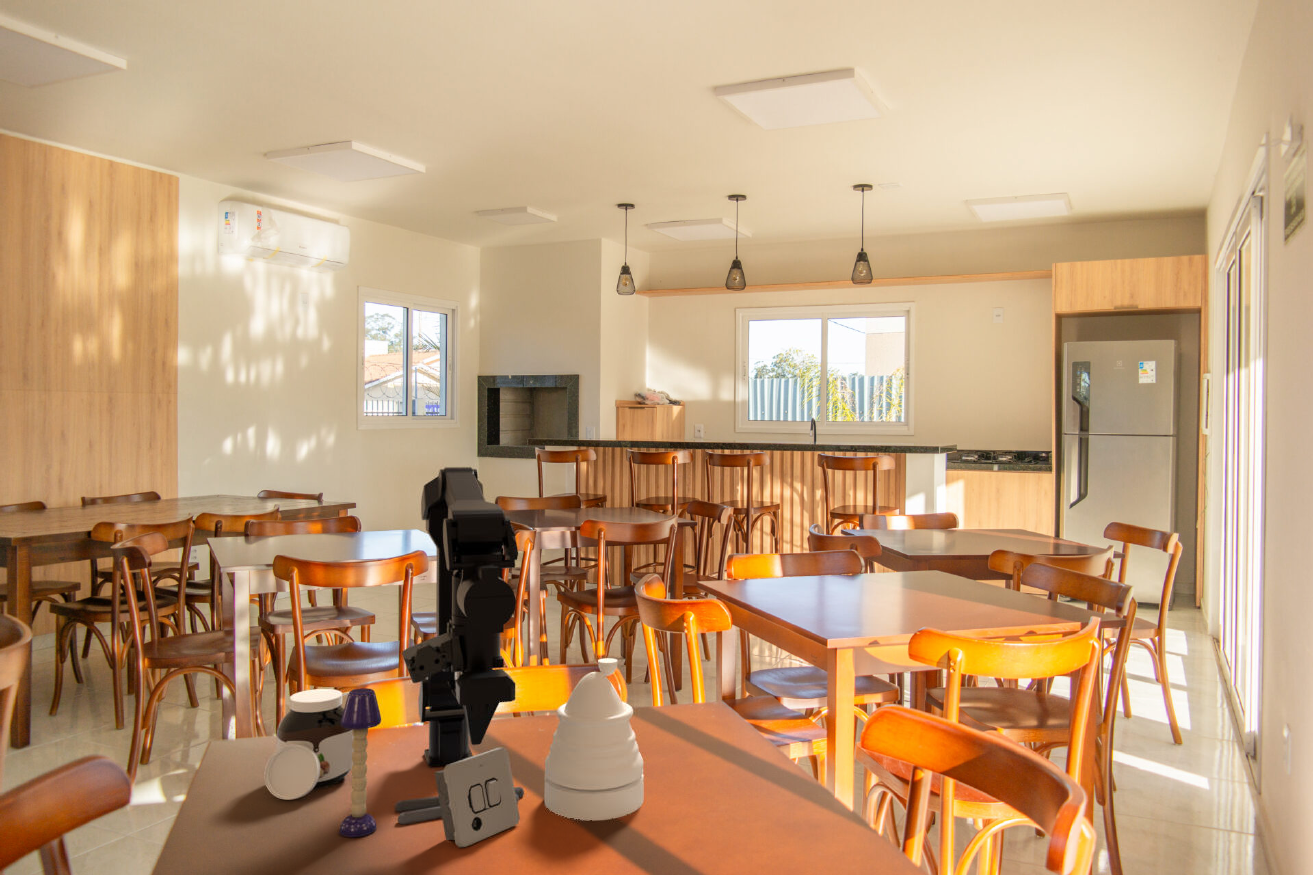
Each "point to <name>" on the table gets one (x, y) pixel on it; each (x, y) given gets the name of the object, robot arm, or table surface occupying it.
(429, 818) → the cord
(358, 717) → the toy lamp
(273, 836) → the table surface
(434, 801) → the cord
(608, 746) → the honey pot
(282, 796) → the spread jar
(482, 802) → the electrical switch
